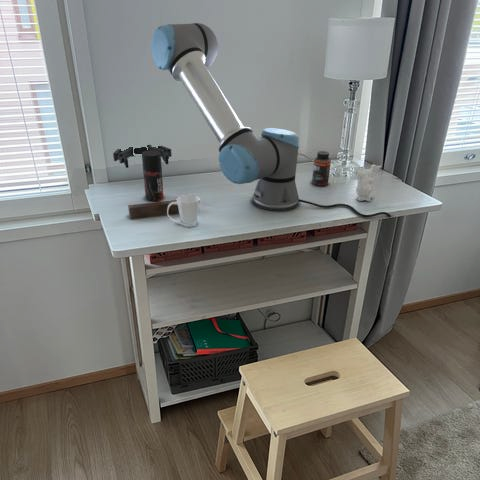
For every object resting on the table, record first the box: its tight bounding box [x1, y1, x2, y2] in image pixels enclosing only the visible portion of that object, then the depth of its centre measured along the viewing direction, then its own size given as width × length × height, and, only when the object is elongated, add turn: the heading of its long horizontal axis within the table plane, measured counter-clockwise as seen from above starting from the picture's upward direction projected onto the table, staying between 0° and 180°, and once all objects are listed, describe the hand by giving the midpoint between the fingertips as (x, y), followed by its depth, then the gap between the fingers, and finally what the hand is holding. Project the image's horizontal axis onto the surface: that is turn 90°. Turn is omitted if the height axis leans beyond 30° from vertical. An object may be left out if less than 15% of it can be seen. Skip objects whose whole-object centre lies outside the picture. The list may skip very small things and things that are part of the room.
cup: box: [166, 193, 201, 228], centre depth 145 cm, size 7×10×8 cm
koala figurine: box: [355, 164, 382, 202], centre depth 164 cm, size 8×7×12 cm
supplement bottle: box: [311, 150, 332, 187], centre depth 175 cm, size 6×6×11 cm
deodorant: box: [141, 150, 164, 203], centre depth 158 cm, size 6×6×15 cm
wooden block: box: [127, 199, 179, 220], centre depth 152 cm, size 21×2×4 cm, turn 110°
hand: (147, 162), depth 164 cm, fingers open, 13 cm apart
